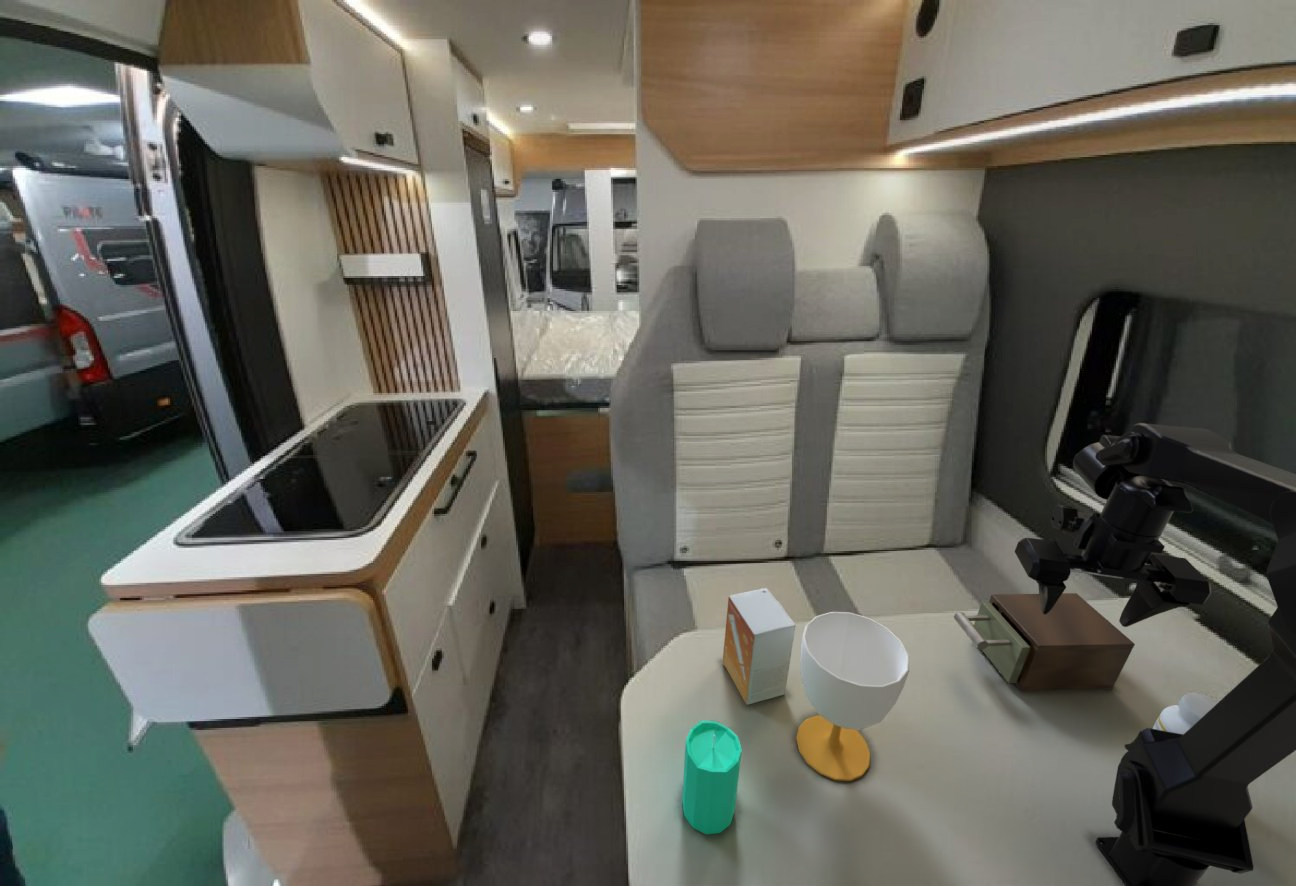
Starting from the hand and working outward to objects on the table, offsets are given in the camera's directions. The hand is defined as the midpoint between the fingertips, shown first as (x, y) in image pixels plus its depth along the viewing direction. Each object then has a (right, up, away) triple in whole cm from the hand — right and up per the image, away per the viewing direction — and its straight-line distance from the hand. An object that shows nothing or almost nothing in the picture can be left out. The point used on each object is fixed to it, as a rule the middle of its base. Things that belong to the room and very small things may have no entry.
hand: (1082, 617), depth 71 cm
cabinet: (+2, -10, +11) cm, 15 cm away
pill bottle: (+6, -18, -6) cm, 20 cm away
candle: (-51, -19, -9) cm, 55 cm away
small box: (-42, -12, +7) cm, 45 cm away
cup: (-34, -16, -2) cm, 38 cm away
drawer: (-2, -9, +10) cm, 14 cm away
